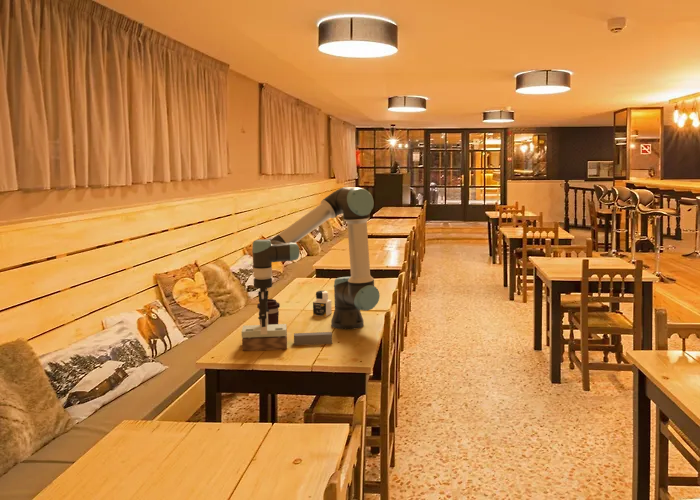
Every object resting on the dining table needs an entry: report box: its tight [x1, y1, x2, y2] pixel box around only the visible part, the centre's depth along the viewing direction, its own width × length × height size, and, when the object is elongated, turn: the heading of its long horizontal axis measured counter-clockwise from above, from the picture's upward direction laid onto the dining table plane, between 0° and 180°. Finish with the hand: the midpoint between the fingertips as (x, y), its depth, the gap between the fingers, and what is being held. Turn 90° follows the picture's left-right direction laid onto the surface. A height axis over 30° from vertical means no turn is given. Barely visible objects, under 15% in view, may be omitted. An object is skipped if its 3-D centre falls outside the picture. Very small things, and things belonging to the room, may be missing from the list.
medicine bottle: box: [312, 290, 333, 318], centre depth 321 cm, size 7×7×12 cm
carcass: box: [241, 332, 288, 352], centre depth 268 cm, size 18×12×8 cm
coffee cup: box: [256, 298, 281, 325], centre depth 288 cm, size 10×10×15 cm
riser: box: [293, 331, 333, 346], centre depth 271 cm, size 16×4×4 cm, turn 95°
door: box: [241, 323, 288, 339], centre depth 265 cm, size 18×10×4 cm, turn 95°
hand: (264, 330), depth 265 cm, fingers closed on door, 10 cm apart
